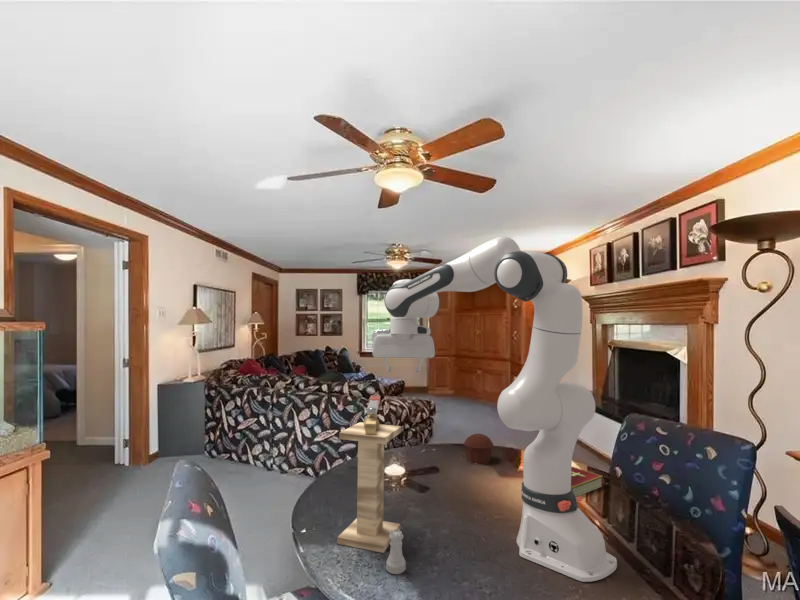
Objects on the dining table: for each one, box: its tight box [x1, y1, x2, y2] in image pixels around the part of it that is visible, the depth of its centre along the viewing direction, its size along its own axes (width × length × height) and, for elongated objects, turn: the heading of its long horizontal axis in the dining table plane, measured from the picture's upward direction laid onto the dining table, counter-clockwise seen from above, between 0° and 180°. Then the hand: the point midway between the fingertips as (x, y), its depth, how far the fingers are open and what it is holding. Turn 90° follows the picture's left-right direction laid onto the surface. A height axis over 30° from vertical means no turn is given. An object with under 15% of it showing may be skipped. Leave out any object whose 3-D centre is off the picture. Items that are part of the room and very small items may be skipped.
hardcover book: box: [571, 465, 604, 497], centre depth 144 cm, size 12×21×4 cm, turn 126°
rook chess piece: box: [385, 529, 407, 575], centre depth 96 cm, size 4×4×8 cm
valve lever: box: [366, 395, 381, 416], centre depth 120 cm, size 19×3×2 cm, turn 0°
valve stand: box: [336, 414, 403, 554], centre depth 111 cm, size 12×12×30 cm
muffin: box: [463, 433, 494, 465], centre depth 171 cm, size 12×11×10 cm
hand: (403, 372), depth 143 cm, fingers open, 8 cm apart
